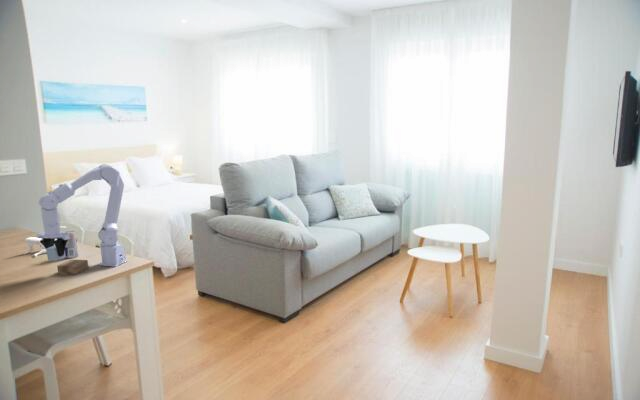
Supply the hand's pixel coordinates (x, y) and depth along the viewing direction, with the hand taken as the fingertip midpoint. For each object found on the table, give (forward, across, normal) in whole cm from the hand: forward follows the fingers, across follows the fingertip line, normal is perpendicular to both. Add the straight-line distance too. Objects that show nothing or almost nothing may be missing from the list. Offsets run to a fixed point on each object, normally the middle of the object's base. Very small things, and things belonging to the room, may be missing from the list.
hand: (56, 255), depth 178 cm
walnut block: (+9, +3, +4) cm, 10 cm away
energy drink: (+8, -14, +20) cm, 26 cm away
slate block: (+1, 0, 0) cm, 1 cm away
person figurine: (+9, -33, +26) cm, 43 cm away
